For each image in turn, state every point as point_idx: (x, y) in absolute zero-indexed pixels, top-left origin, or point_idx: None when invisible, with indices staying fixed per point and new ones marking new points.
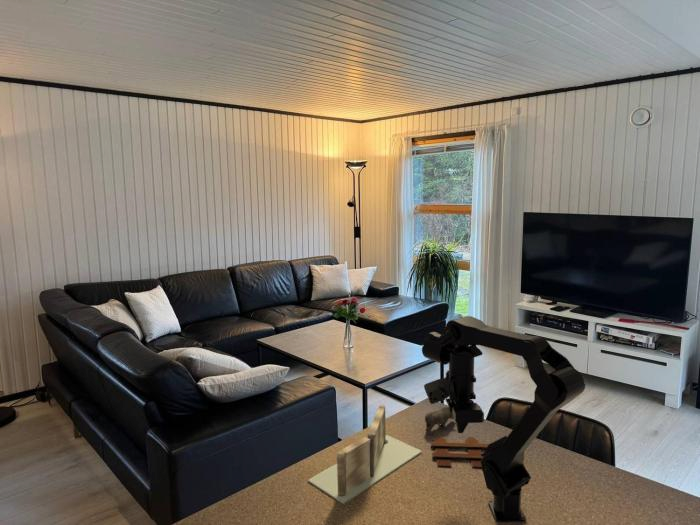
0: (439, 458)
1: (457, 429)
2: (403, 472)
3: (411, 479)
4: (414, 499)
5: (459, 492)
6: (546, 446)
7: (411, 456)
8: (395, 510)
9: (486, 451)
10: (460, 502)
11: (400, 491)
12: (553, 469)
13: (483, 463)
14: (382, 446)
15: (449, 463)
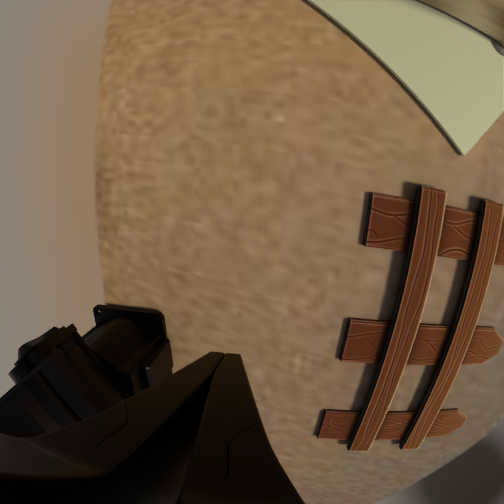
0: (413, 211)
1: (216, 361)
2: (335, 57)
3: (291, 78)
4: (177, 82)
5: (210, 238)
6: (395, 486)
7: (431, 105)
8: (135, 35)
9: (8, 397)
10: (161, 229)
11: (221, 40)
12: (307, 481)
13: (27, 356)
14: (472, 25)
15: (380, 242)
